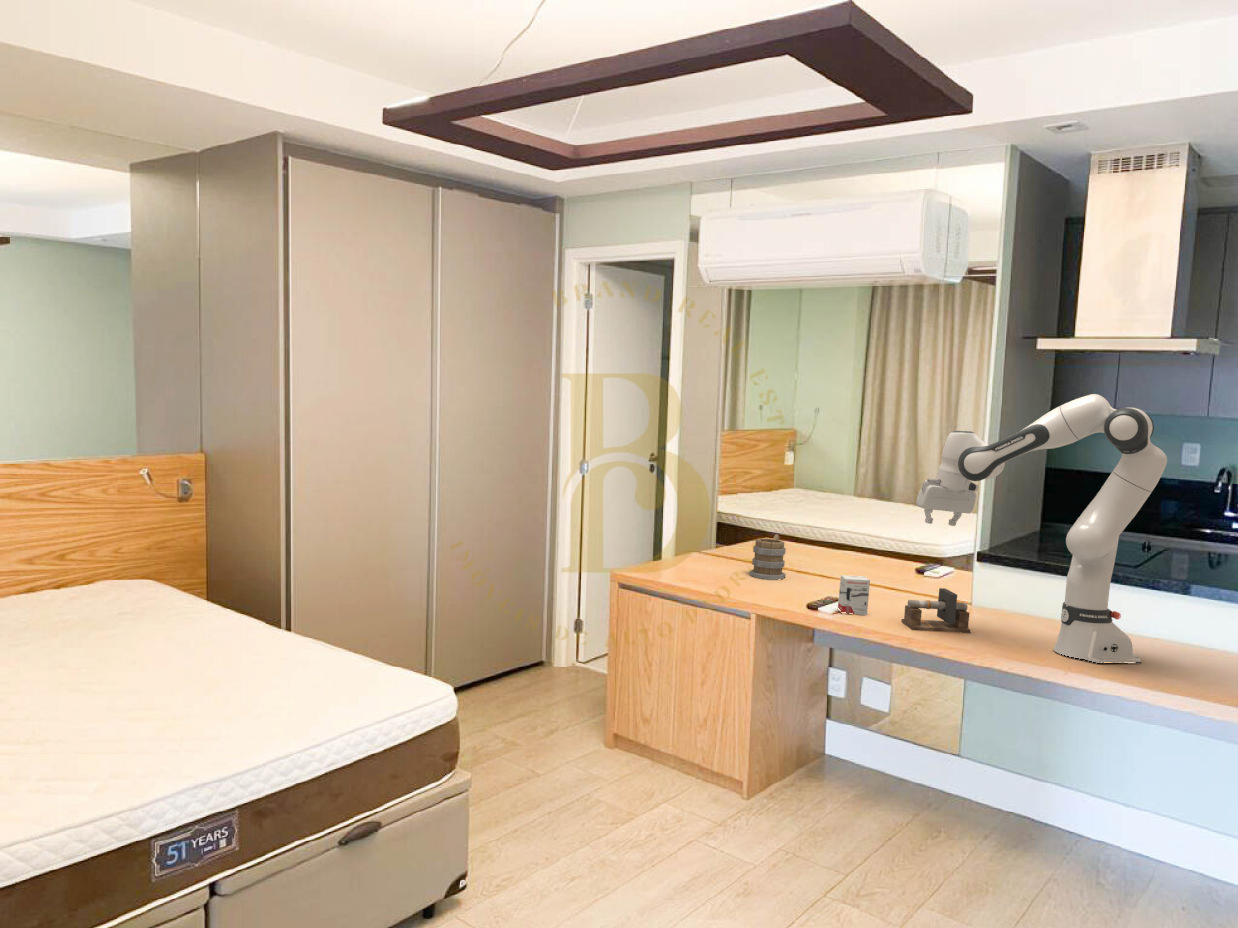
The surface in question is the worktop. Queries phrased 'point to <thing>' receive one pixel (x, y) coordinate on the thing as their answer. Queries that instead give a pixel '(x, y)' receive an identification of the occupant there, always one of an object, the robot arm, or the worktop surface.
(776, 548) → the tankard
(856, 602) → the ink box
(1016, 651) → the worktop surface
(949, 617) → the dark grey flat slab
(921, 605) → the pipe stand
